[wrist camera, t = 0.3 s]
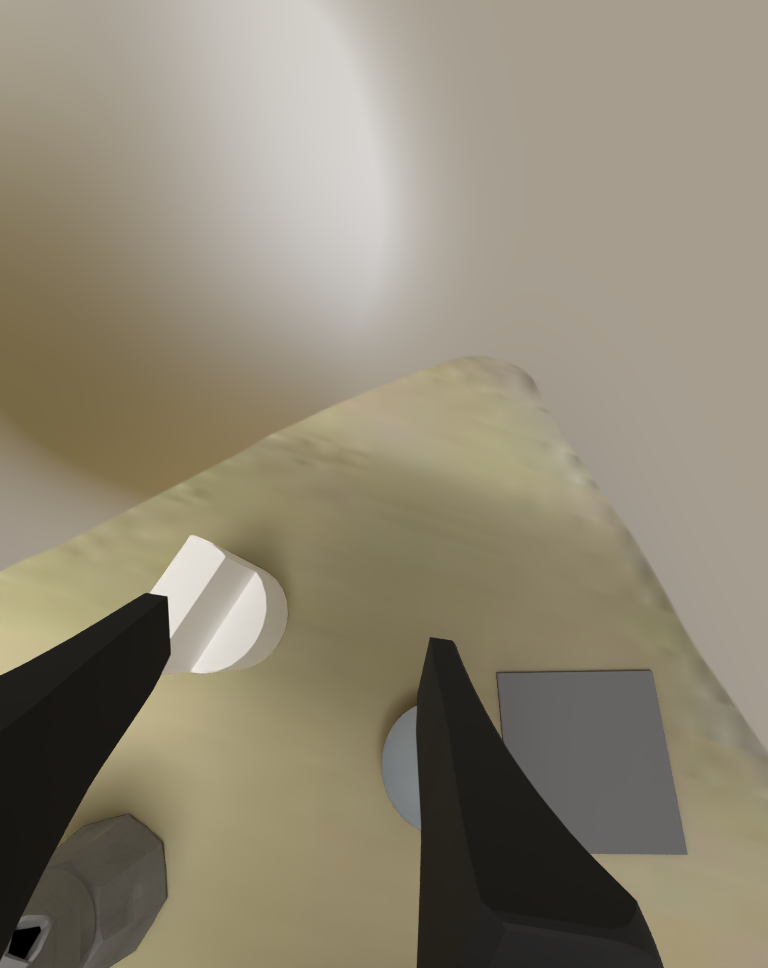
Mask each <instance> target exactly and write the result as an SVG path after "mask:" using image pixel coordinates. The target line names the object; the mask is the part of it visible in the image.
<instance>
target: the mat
mask: <svg viewBox="0 0 768 968" xmlns="http://www.w3.org/2000/svg"><path fill="white" fill-rule="evenodd" d="M497 683H498V694H499V705H500V716H501V727H502V738H503V742H504V744H505V745H506V747H507V748H508V750H509V752H510V753H511V755H512V756H513V758H514V759H515V761H516V762H517V764H518V765H519V767H520V768H521V770H522V771H523V772H524V774H525V775H526V777H527V778H528V779H529V781H530V782H531V784H532V785H533V786H534V788H535V789H536V790H537V792H538V793H539V794H540V796H541V797H542V798H543V800H544V801H545V802H546V803H547V804H548V806H549V807H550V808H551V809H552V811H553V812H554V813H555V814H556V815H557V817H558V818H559V819H560V820H561V822H562V823H563V824H564V825H565V826H566V828H567V829H568V830H569V831H570V833H571V834H572V835H573V836H574V837H575V838H576V839H577V840H578V841H579V842H580V844H581V845H582V846H583V847H584V848H585V849H586V850H587V851H588V852H589V854H679V855H688V854H687V849H686V843H685V838H684V833H683V828H682V823H681V817H680V812H679V807H678V802H677V797H676V792H675V786H674V781H673V776H672V771H671V766H670V761H669V755H668V750H667V745H666V740H665V735H664V730H663V724H662V719H661V714H660V709H659V704H658V698H657V693H656V688H655V683H654V678H653V673H652V671H596V672H534V673H497Z"/></svg>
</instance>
